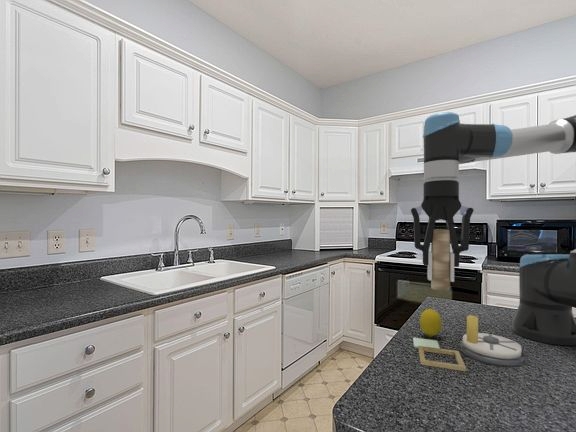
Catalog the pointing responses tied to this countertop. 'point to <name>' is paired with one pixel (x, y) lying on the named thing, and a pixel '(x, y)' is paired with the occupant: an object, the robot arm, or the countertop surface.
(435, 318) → the lemon
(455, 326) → the countertop surface
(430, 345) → the coaster
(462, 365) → the square gold frame
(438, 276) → the dowel
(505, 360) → the wheel base
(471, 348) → the handwheel
